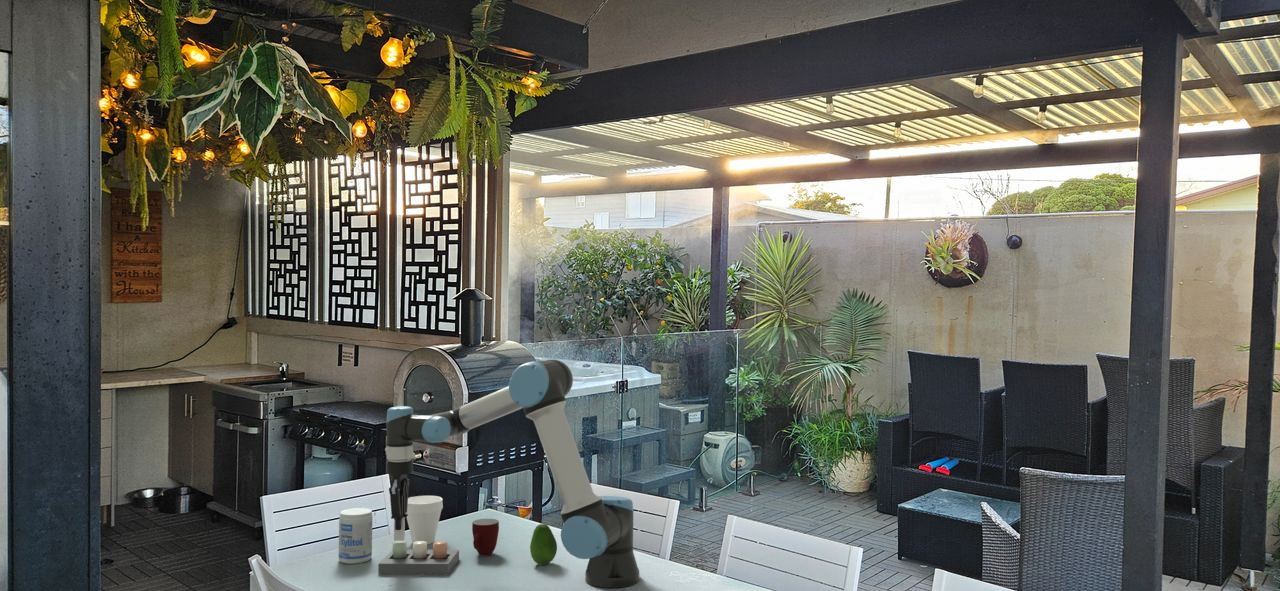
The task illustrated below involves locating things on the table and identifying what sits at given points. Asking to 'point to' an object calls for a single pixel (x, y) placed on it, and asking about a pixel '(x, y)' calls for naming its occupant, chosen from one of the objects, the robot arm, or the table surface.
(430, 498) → the cup
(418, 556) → the button cream
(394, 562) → the button panel
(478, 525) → the mug
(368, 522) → the supplement tub
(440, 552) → the button terracotta
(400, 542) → the button sage
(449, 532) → the table surface
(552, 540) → the fruit
